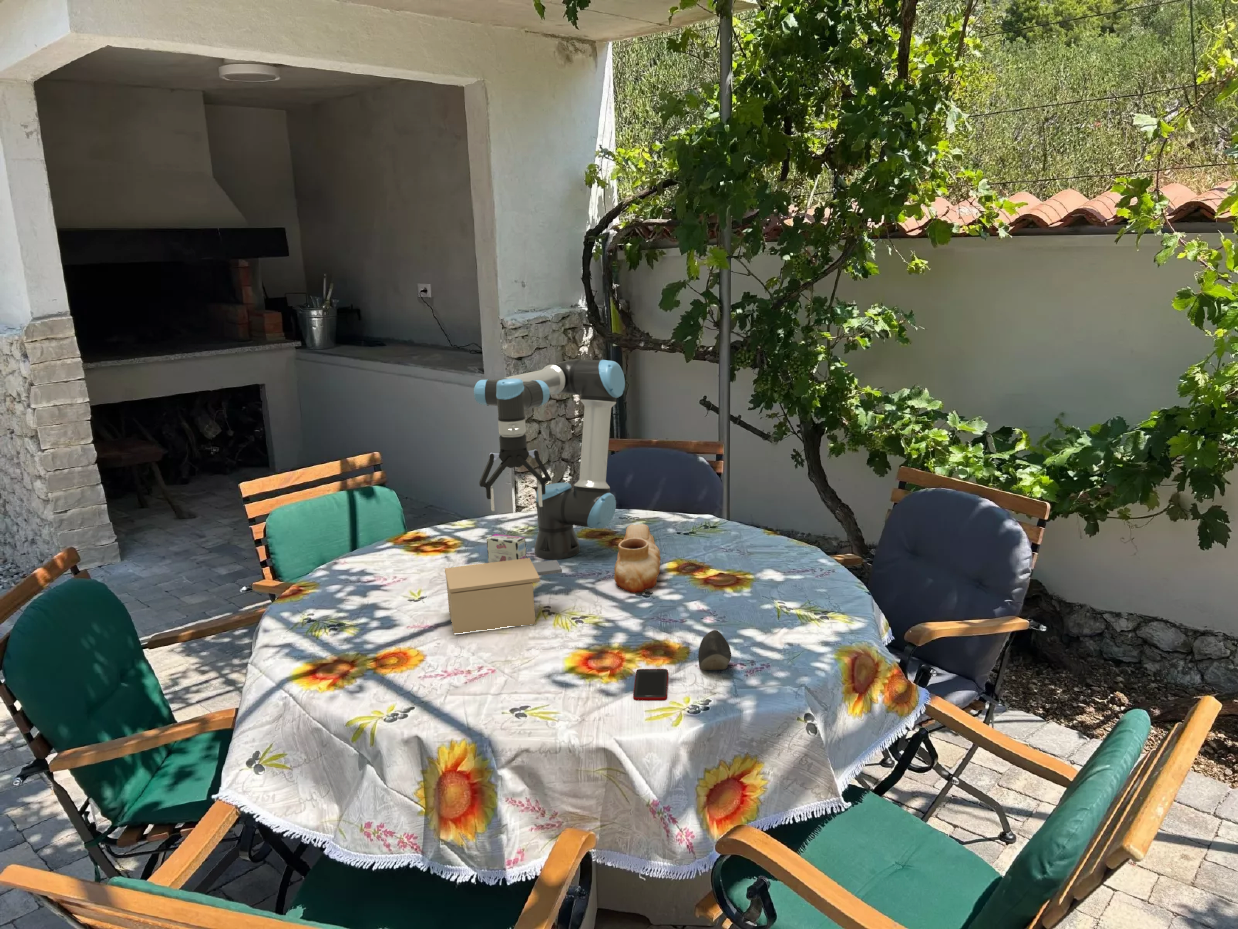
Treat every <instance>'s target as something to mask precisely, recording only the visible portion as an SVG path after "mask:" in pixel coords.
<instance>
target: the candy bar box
mask: <svg viewBox="0 0 1238 929" xmlns="http://www.w3.org/2000/svg"><path fill="white" fill-rule="evenodd" d="M486 548H487V563H492V562H500V561H508V560H517V559H525V558H528V557H527V547H526V537H525V536H523V537H522V536H516V535H508V534H507V535H506V534H500V533H499V534H498V533H494V534H492V535H490V536H489V537H486Z"/></svg>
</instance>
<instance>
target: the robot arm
mask: <svg viewBox="0 0 1238 929" xmlns="http://www.w3.org/2000/svg"><path fill="white" fill-rule="evenodd" d="M474 385H475V386H474V387H473V394H474V395H473V398H474V400H475V401H476V403H478V404H479V405H484V406H488V407H489V406H492V407H493V406H494V407H495V406H496V407H497V416H498V417H497V422H498V423H497V424H498V434H499V438H498V439H499V452H498V453H496V452H495V453H494V452H491V451H490V452H489V453H488V461H487V463H486V466H484V467H485V468H484V470H483V472H482V475H481V477H480V479H479V482H478V484H479V487H481V488H485V494H486V499H487V500H490V508H491V511H492V512H495V511H496V510H495V499H494V498H495V495H494V486H493V484H495V483H496V481H497V479H498V478H499V477H500V475H501V474H502V473H503V471H505V469H506V468H508V469H513V468H521V467H522V466H524V468H525V469H527V470H528V471H529V473H530V474H532V476H534V477H535V479H537V491H536V498H535V499H536V500H535V502H536V512H537V513H536V514H537V528H538V532H537V535H536V539H535V543H534V546H533V548H534V549H533V550H534V555H535V556H537V557H538V558H541V559H544V560H562V559H563V560H564V559H567V558H571V557H574V556H576V555H578V554H579V553H580V552H581V549H580V548H581V547H580V546H581V545H580V542H579V540H578V538H577V535H576V533H575V530H574V529H575V528H574V526H577V527H582V528H583V527H585V528H589V529H604V528H606V527H607V526H608V525H609V524H610V523H611V521H612V520H613V518H614V516H615V513H616V510H617V509H616V507H617V500H616V497H615V495H614V494H612V493H611V492H610V491H611V487H610V485H609V484H608V482H607V472H608V471H607V467H608V456H609V444H610V443H609V440H610V428H611V415H612V414H611V413H612V407H613V406H615V405H616V404H617V398H619V397H621V396H623V394H624V391H625V386H626V380H625V373H624V371H623V369H622V367H621V366H620V364H619V363H618V362H616V361H614V360H606V359H580V358H575V359H574V358H573V359H569V360H565V361H564V360H563V361H560V362H555V363H552V364H548V365H546V366H544V367H543V369H539V370H534V371H530V372H525V373H521V374H520V373H519V374H515V375H512V376H511V375H510V376H505V377H501V378H496V379H488V378H487V379H480V380H478V381H477V382H476V383H475V384H474ZM558 394H565V395H566V394H567V395H575V396H580V399H579V400H580V402H581V403H582V404H583V406H584V411H583V424H582V437H581V438H582V439H581V451H580V452H581V453H580V466H579V479H578V480H577V481H576V483H574V485H573V487H572V484H571V483H570V482H557V483H556V482H555V483H550V484H547V483H548V482H551V481H552V477H551V475H550V474H549V472H548V470H547V469H546V467H545V465H544V464H543V461H542V460H541V459H540V454H539V451H538V449H537V448H533V450H532V449H531V450H528V446H527V443H528V442H527V435H526V434H525V433H526V432H527V431H526V430H527V428H526V411H527V410H530V409H534V408H539V407H541V406H542V405H545V404H547V403H548V401H549V399H550V395H558ZM529 456H530V457H531V458H532V459H534V460H535V462H536V463H537V465H538V467H539V470H541V472H542V473H543V475H544V477H543V476H542V475H541V474H540V473H538V472H537V470H535V468H534V467H533V466H532V465H531V464H530V463H529V462H528V461H527V460H528V458H529ZM498 458H499V460H500V461H501V462H500V464H499V466H498V467H497V468H496V469H495V470H494V472H493V473H492V475H491V476H490V477H489V479H488V476H489V474H490V472H491V470H492V467H493V465H494V463H495V462H496V461H497V459H498ZM538 481H539V482H538ZM572 488H573V489H572Z"/></svg>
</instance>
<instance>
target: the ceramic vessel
mask: <svg viewBox="0 0 1238 929" xmlns="http://www.w3.org/2000/svg"><path fill="white" fill-rule="evenodd" d="M617 546H618V547H617V548H618V552H617V557H616V561H615V564H614V569H613V570H614V577H613V580H614V582H615V584H616V586H617V588H618V589H621V590H623V589H624V590H623V591H626V592H628V593H630V594H639V593H640V594H641V593H643V592H645V591H647V590H651V589H653V588H655V587H656V586H657V579H658V576H659V574H660V573H661V572H660V571H661V569H660V568H661V551H660V549H659V547H658V546H657V545H656V542H655V538H654V536H653V535H652V534H651V532H650V527H649V526H648V525H647V524H645V523H641V524H634V523H633V524H629V525H628V526H627V527H626V529H625V536H624V537H623V540H621V541H620V542H619V543H618V545H617ZM646 589H647V590H646Z"/></svg>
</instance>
